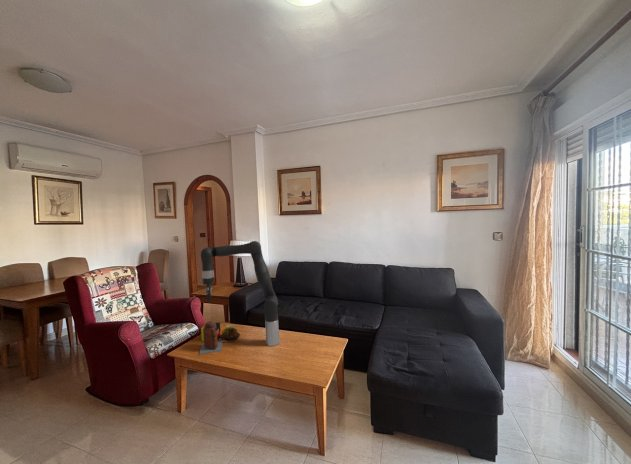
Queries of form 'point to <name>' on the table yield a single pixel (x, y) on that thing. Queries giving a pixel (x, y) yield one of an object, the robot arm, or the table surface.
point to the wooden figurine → (210, 335)
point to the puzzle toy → (215, 329)
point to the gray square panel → (207, 350)
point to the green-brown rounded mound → (229, 334)
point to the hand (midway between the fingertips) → (209, 300)
